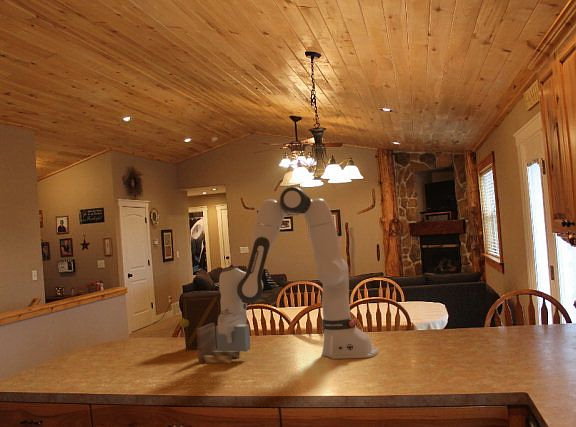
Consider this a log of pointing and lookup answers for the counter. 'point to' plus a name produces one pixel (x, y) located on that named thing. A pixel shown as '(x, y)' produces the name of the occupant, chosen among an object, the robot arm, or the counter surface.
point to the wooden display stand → (212, 347)
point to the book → (199, 315)
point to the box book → (234, 339)
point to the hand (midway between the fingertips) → (233, 341)
